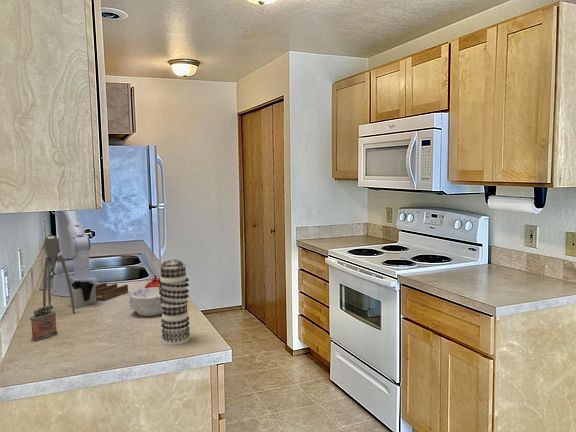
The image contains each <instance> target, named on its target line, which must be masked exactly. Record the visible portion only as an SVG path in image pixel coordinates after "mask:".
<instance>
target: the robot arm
mask: <svg viewBox="0 0 576 432" xmlns="http://www.w3.org/2000/svg"><path fill="white" fill-rule="evenodd" d="M51 214H53V215H55V216H56V223H57V224H56V225H57V235H58V241H59V252H58V256H60V255H62V257H63V259H64V262H65V265H66V268H67V272H68V275H69V279H70V283H71V288H72V290H74V289H77V288H82V291H83V297H84V301H87V300H89V299H90V294H91V291H92V288H93V286H94V285H98V284H99V278H98V277H94V276H91V266H90V265H91V264H90V250H91V248H92V247H91V246H92V244H91V239H90V236H89V235H88V234H87V233H86V231H85V229H84V226H83V223H82V222H80V221H79V219H78V215H77V214H78V213H77V211H58V212H52V211H51ZM53 274H55V275H54V276H53V279H52V290H53V293H52V294H51V295H52V296H58V297H65V298H69V297H70V293H69V288H68V284H67V280H66V276H65V273H64V270H63V267H62V264H61V262H60V260H59V261H57V262H56V264H55V268H54V271H53Z"/></svg>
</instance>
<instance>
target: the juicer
mask: <svg viewBox="0 0 576 432" xmlns="http://www.w3.org/2000/svg"><path fill="white" fill-rule="evenodd" d="M43 247H44V252H45V255H46V257H45V259H44V260H45V261H44V269H43V270H44V271H43V280H42V281H43V286H42V307H45V306H49V305H52V303H51V302H52V300H51V299H52V298H51V295H52V294H51V269H52V271H53V272H54V268H55V264H56V262H57V261H59V260H60V262H61V264H62V267H63V270H64V273H65V276H66V280H67V284H68V288H69V293H70V296H69V297H70V303H71V310H72V311H71V312H72V314H73V315H75V313H76V312H75V311H76V310H75V309H76V308H74V300H73V294H72V288H71V283H70V279H69V275H68V272H67V268H66V265H65V262H64V259H63V257H62V255H60V256H58V253H59V252H60V248H59V237H57V236H56V235H47V236H45V238H44V242H43ZM46 295H47V296H46ZM46 297H47V298H48V299H47V298H46ZM46 301H48V305H46V304H47V303H46ZM49 311H52V309H51V310H49Z"/></svg>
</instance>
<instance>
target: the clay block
mask: <svg viewBox="0 0 576 432" xmlns="http://www.w3.org/2000/svg"><path fill="white" fill-rule="evenodd" d="M95 285H96V284H94V286H93V288H92V291H91V294H90V299H89V300H87V301H84V297H83V291H82V288H77V289H74V290H72V294H73V300H74V308H75V309H78V308H81V307H85V306H88V305H91V304H93V303H97V300H96V289H95Z"/></svg>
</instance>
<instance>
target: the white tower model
mask: <svg viewBox="0 0 576 432" xmlns="http://www.w3.org/2000/svg"><path fill="white" fill-rule="evenodd" d="M186 266H187V265H186V264H184V262H183V261H182V260H179V259H168V260H164V261H163V262H162V263H161V265H160V266H159V269H160V277H159V278H160V279H159V281H158V283H159V284H160V285H159V290H160V291H159V294H160V295H161V297H160V301H161V302H160V304H161V306H162V311H163V313H161V320H160V322H161V327H162V328H161V338H162V344H164V345H167V346H168V345H169V346H174V345H175V346H177V345H181V344H185V343H187V342H189V341H190V340H191V339H190V336H191V335H190V327H189V325H190V317H189V313H188V312H189V311H188V304H189V300H188V298H189V297H190V296H189V294H188V293H189V292H190V291H189V289H188V288H187V287H189V286H190V285H189V283H188V282H189V280H190V279H189V278H188V277H187V273H186V271H187V270H186ZM160 280H161V282H160ZM161 286H162V288H161Z"/></svg>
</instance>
